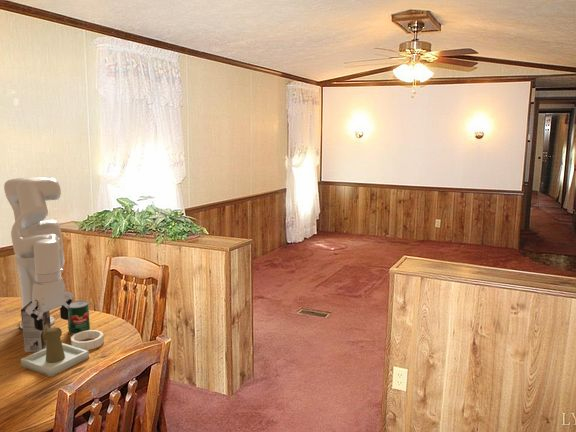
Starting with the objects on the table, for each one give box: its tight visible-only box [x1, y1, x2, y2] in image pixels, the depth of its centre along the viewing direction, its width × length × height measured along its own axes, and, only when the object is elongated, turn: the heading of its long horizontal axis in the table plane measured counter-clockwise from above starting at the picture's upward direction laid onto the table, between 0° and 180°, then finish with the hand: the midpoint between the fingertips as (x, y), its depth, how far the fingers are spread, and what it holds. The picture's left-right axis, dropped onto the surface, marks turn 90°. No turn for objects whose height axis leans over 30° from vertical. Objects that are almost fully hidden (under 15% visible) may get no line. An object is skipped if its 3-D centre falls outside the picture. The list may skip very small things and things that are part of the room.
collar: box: [70, 329, 105, 351], centre depth 179 cm, size 11×11×3 cm
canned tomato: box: [67, 300, 91, 335], centre depth 190 cm, size 8×8×11 cm
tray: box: [20, 342, 90, 377], centre depth 165 cm, size 15×15×2 cm
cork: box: [45, 326, 65, 363], centre depth 164 cm, size 6×6×11 cm
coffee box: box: [20, 301, 52, 353], centre depth 175 cm, size 9×6×16 cm
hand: (52, 324), depth 164 cm, fingers open, 9 cm apart
